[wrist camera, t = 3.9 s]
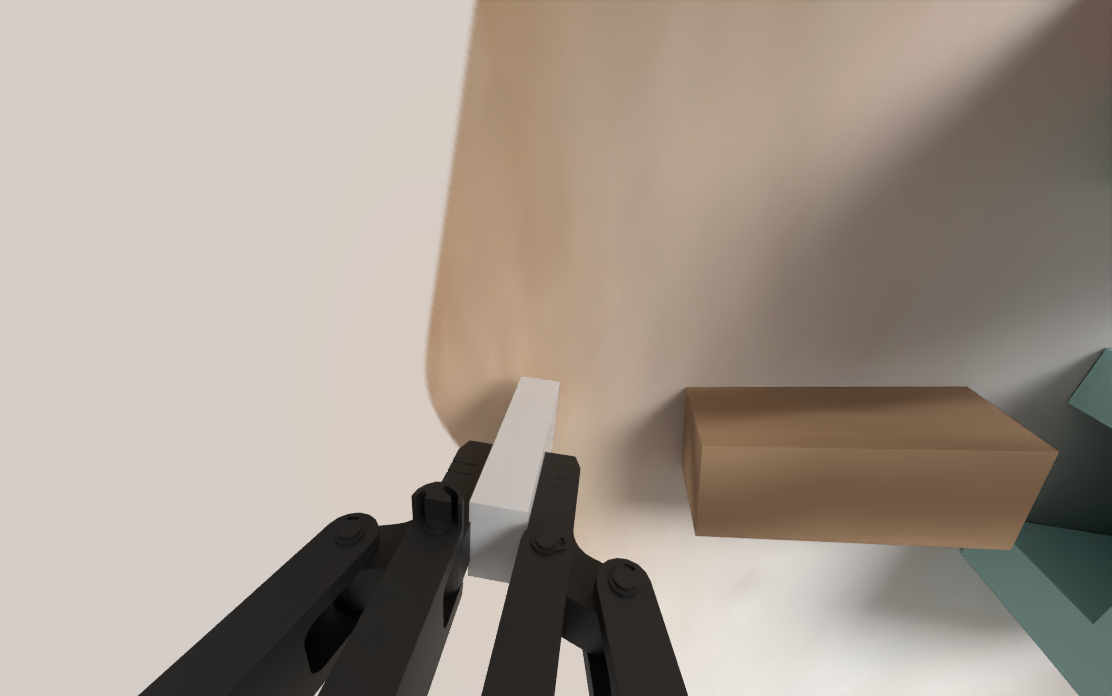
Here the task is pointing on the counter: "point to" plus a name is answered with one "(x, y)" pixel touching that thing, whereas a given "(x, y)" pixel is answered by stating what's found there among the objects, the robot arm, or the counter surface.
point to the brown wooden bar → (859, 465)
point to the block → (1062, 575)
